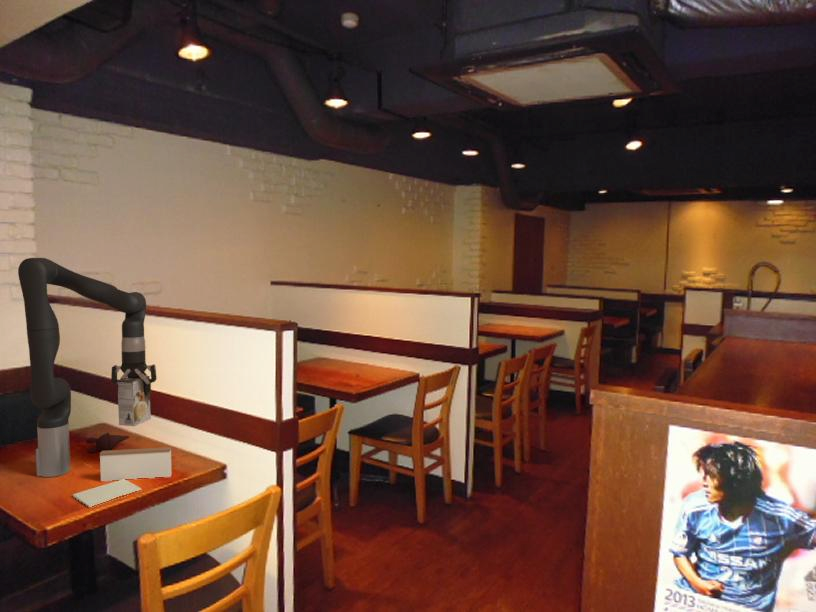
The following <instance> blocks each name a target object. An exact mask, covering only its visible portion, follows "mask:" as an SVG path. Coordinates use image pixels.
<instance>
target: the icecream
mask: <svg viewBox="0 0 816 612" xmlns="http://www.w3.org/2000/svg"><path fill="white" fill-rule="evenodd" d="M129 438H130V436H129V435H123V434H122V435H119V434H110V432H107V433H104V434H102V435H101V434H100V436H99V437H98V438H95V437H92V436H91V437H89V438H87V439H86V440H85V442H86V444H91V445H93V444H95V445H94V446H91V447H89V448H88V449H87V453H89V454H91V452H92V453H95V452H97V451H99V450H101V451H109V450H111V449H113V447H115V446H117V445H118V444H120V443H122V442H124V441H125V440H127V439H128V440H129Z"/></svg>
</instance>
